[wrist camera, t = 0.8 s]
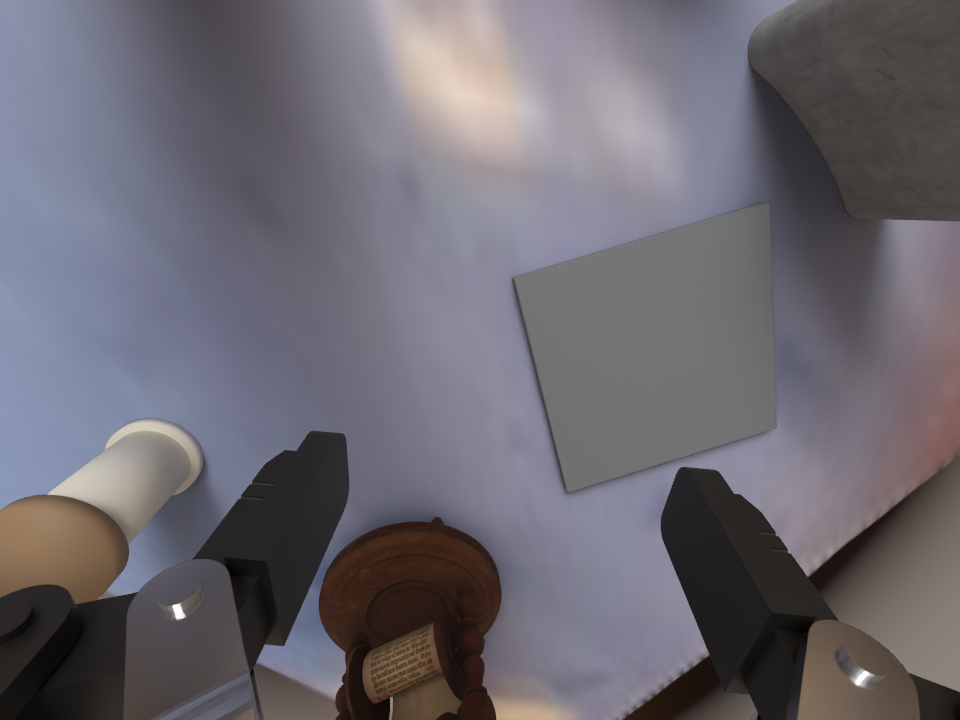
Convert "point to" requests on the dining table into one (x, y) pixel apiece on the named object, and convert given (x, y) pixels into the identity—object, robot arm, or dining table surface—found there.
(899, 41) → the hip flask
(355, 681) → the scroll
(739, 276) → the mat
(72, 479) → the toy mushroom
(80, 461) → the dining table surface
